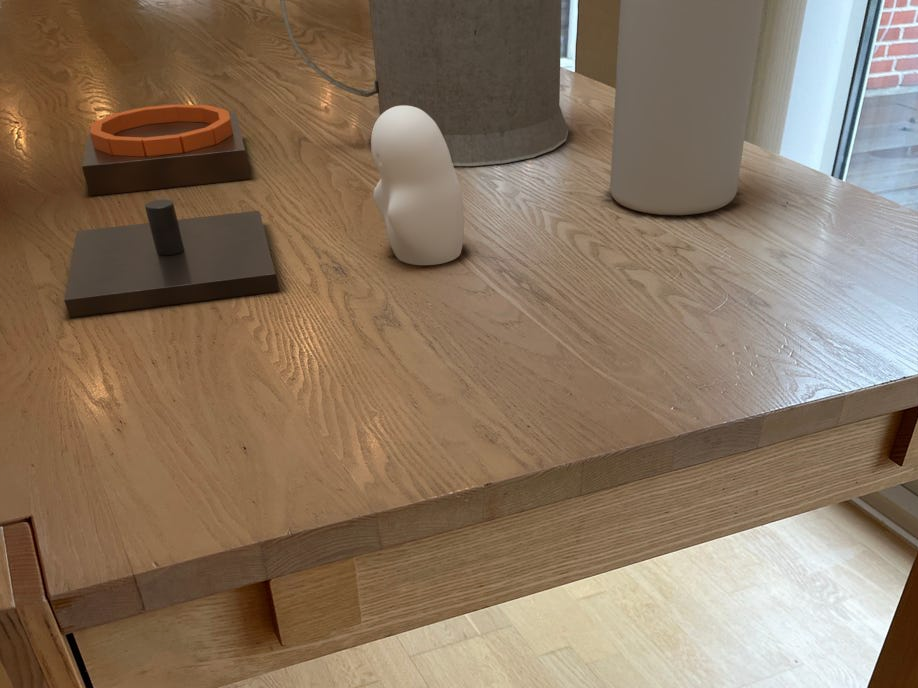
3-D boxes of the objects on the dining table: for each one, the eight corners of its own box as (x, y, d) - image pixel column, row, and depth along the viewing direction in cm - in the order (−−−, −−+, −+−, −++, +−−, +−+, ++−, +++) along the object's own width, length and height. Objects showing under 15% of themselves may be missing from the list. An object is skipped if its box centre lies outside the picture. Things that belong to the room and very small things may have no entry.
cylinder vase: (706, 173, 101) (742, -129, 84) (756, 210, 92) (808, -121, 75) (593, 185, 99) (607, -122, 82) (633, 223, 90) (658, -112, 73)
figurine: (373, 246, 88) (358, 100, 80) (452, 235, 89) (445, 90, 81) (392, 273, 82) (378, 120, 74) (475, 261, 84) (470, 109, 76)
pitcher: (589, 155, 107) (601, -130, 90) (306, 182, 103) (263, -110, 86) (543, 104, 124) (545, -145, 107) (298, 125, 120) (261, -129, 103)
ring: (91, 162, 100) (86, 146, 99) (97, 127, 111) (93, 111, 110) (236, 147, 103) (233, 131, 102) (228, 114, 114) (225, 99, 113)
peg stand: (69, 317, 77) (47, 249, 74) (81, 247, 90) (62, 185, 86) (278, 291, 80) (266, 224, 77) (262, 226, 93) (251, 165, 89)
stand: (90, 196, 101) (81, 166, 99) (97, 153, 114) (89, 126, 112) (250, 179, 104) (245, 149, 102) (240, 139, 117) (235, 112, 115)
